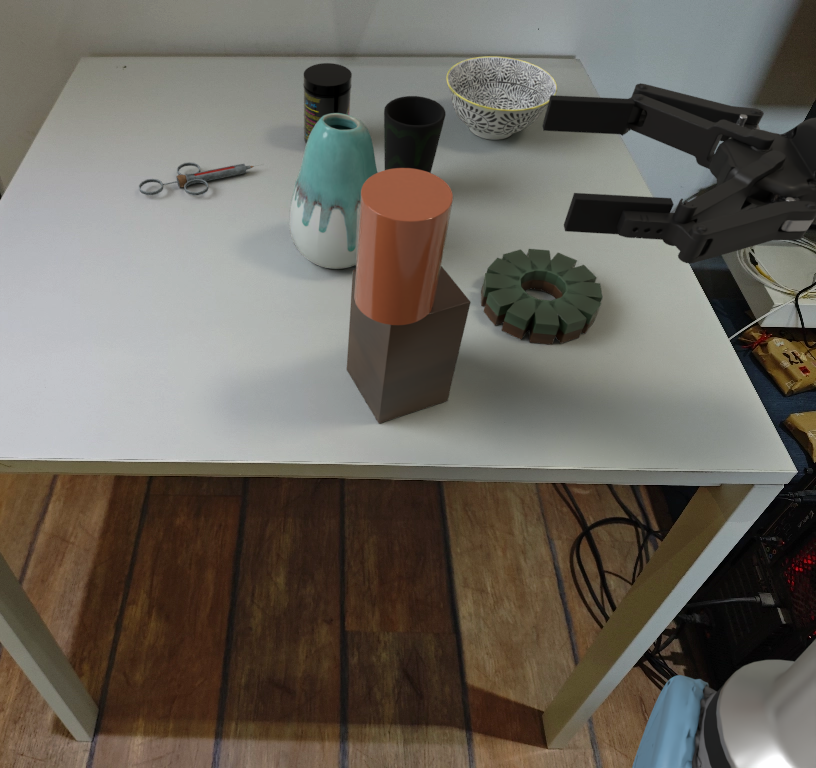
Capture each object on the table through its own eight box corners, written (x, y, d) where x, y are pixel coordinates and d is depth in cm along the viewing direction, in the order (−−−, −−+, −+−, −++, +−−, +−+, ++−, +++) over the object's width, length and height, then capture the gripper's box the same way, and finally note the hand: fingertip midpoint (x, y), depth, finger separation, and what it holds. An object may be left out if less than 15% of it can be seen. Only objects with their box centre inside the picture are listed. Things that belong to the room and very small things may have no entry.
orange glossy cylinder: (443, 321, 63) (464, 216, 54) (362, 329, 62) (370, 224, 54) (423, 268, 67) (439, 164, 59) (347, 275, 67) (353, 171, 59)
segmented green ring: (617, 325, 82) (626, 306, 80) (520, 356, 79) (526, 337, 77) (551, 257, 90) (557, 238, 88) (460, 284, 87) (464, 264, 85)
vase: (361, 215, 96) (370, 85, 82) (395, 269, 89) (411, 137, 75) (278, 233, 94) (273, 102, 80) (306, 289, 86) (306, 156, 73)
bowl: (566, 133, 109) (580, 85, 104) (494, 169, 103) (505, 120, 97) (488, 92, 118) (498, 46, 112) (417, 123, 111) (423, 75, 106)
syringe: (273, 184, 101) (272, 173, 100) (146, 210, 97) (143, 199, 96) (256, 155, 106) (256, 145, 104) (134, 179, 102) (132, 168, 100)
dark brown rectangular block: (447, 401, 75) (471, 301, 64) (378, 424, 73) (390, 325, 62) (412, 349, 80) (428, 249, 69) (346, 369, 78) (352, 269, 67)
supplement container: (335, 159, 105) (338, 90, 97) (295, 147, 107) (294, 78, 99) (356, 137, 109) (360, 69, 101) (316, 126, 111) (317, 59, 103)
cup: (395, 170, 103) (403, 89, 94) (442, 188, 100) (456, 106, 91) (366, 196, 99) (372, 114, 90) (415, 215, 96) (426, 133, 87)
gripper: (889, 328, 48) (565, 307, 50) (770, 131, 64) (529, 119, 66) (967, 237, 42) (599, 217, 44) (815, 46, 59) (550, 36, 60)
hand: (556, 158), depth 55 cm, fingers open, 13 cm apart
